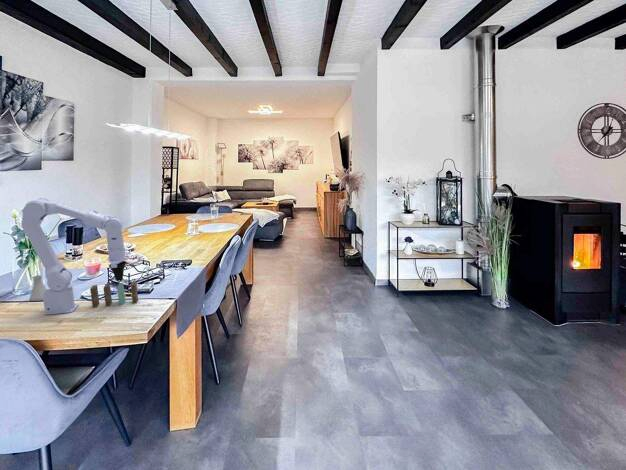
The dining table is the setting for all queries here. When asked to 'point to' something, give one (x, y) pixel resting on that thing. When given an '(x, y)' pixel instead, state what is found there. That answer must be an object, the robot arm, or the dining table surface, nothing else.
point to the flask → (37, 289)
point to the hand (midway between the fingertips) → (119, 280)
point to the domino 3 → (121, 293)
